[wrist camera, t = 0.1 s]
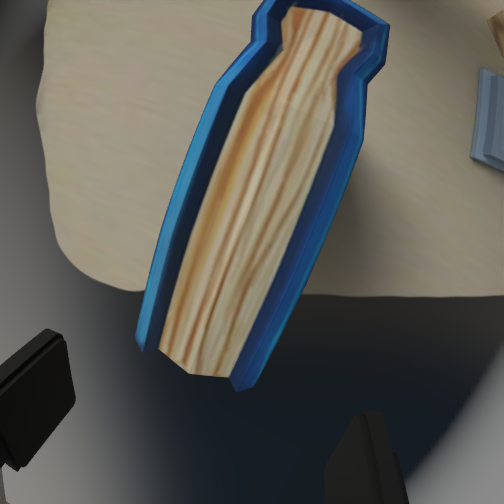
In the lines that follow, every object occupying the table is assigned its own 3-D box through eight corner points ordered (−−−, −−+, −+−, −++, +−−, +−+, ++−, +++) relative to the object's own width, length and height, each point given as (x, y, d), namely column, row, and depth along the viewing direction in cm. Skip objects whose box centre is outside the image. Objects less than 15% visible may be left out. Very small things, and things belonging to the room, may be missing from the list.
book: (282, 78, 34) (265, -43, 10) (338, 100, 33) (413, 9, 10) (219, 243, 40) (126, 358, 16) (272, 264, 40) (245, 407, 16)
